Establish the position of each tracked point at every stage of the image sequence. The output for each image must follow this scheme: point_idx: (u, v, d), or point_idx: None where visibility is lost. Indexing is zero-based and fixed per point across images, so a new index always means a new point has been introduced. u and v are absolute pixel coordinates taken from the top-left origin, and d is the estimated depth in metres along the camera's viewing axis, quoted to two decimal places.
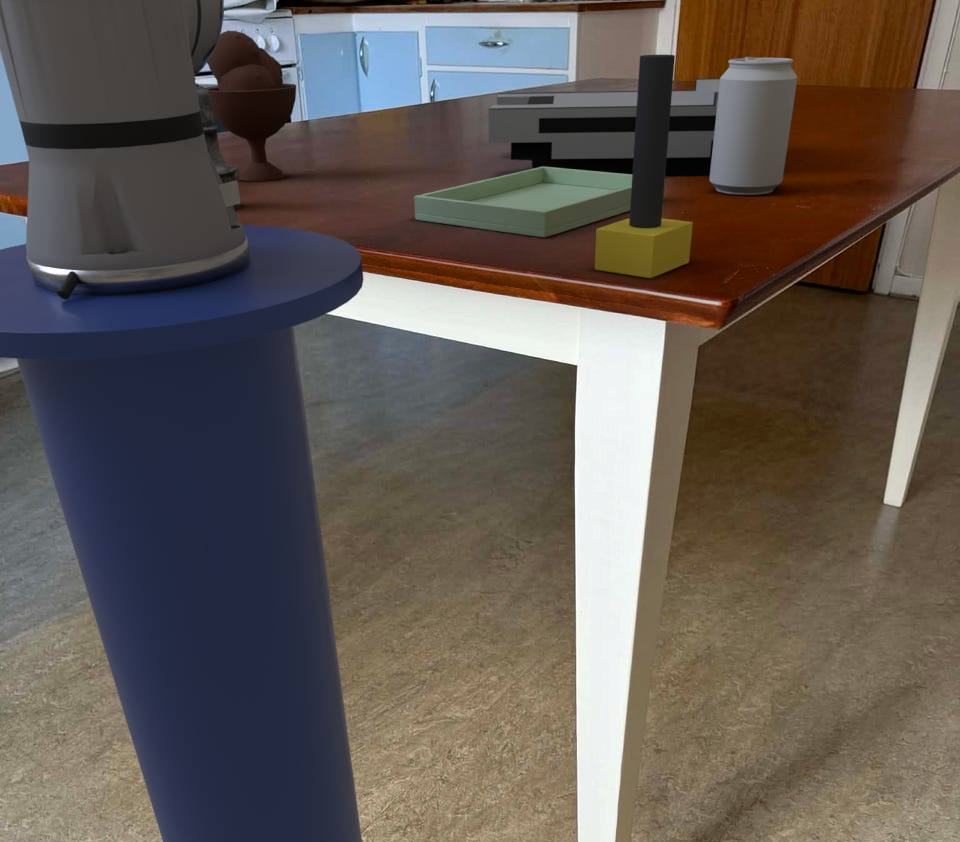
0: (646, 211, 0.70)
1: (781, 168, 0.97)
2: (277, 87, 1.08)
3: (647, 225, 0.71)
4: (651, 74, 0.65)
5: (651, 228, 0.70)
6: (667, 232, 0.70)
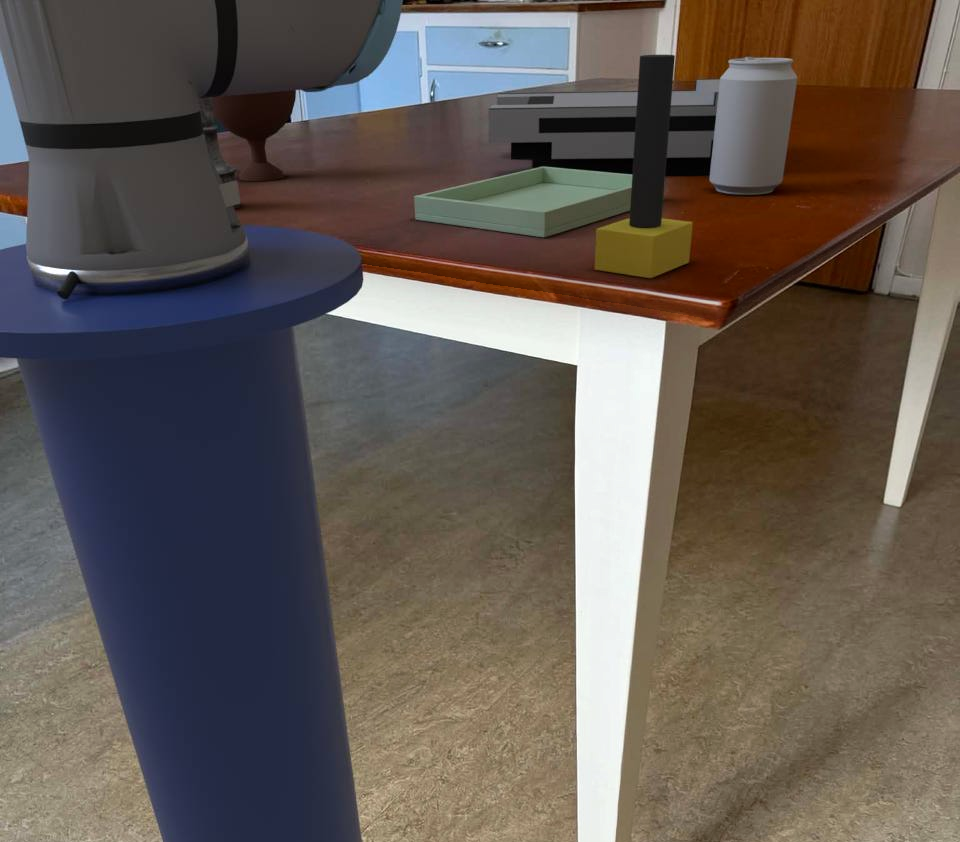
0: (646, 211, 0.70)
1: (781, 168, 0.97)
2: None
3: (647, 225, 0.71)
4: (651, 74, 0.65)
5: (651, 228, 0.70)
6: (667, 232, 0.70)
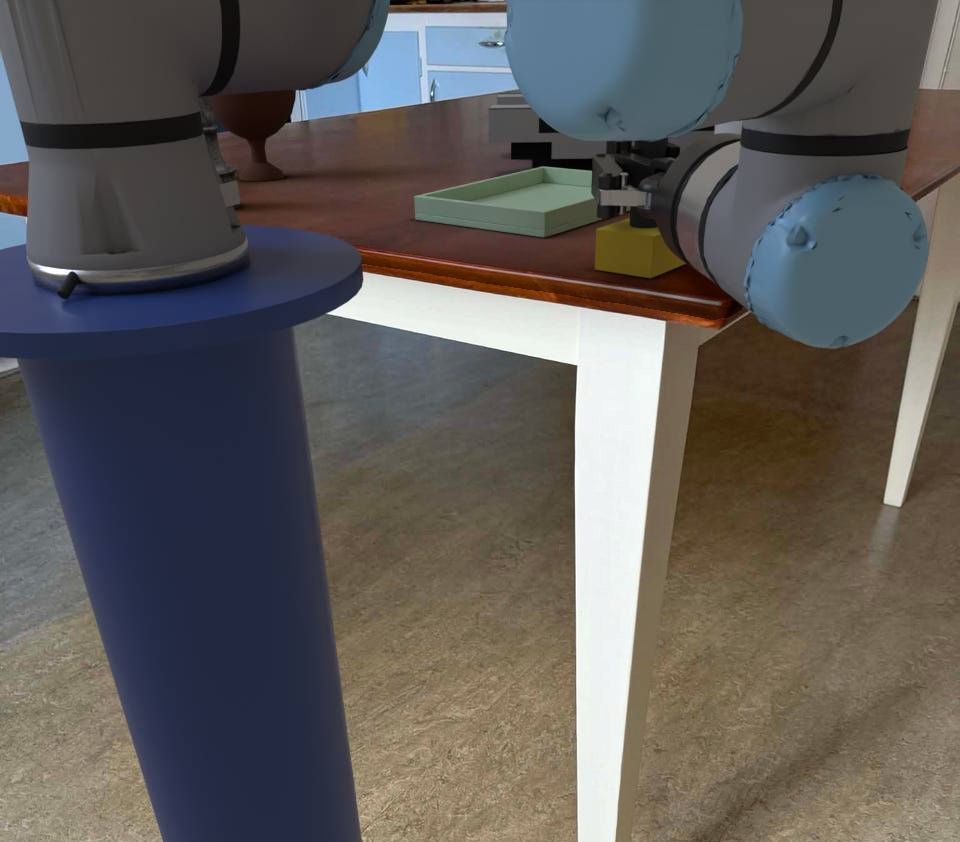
0: None
1: None
2: None
3: (647, 225, 0.71)
4: None
5: (651, 228, 0.70)
6: None
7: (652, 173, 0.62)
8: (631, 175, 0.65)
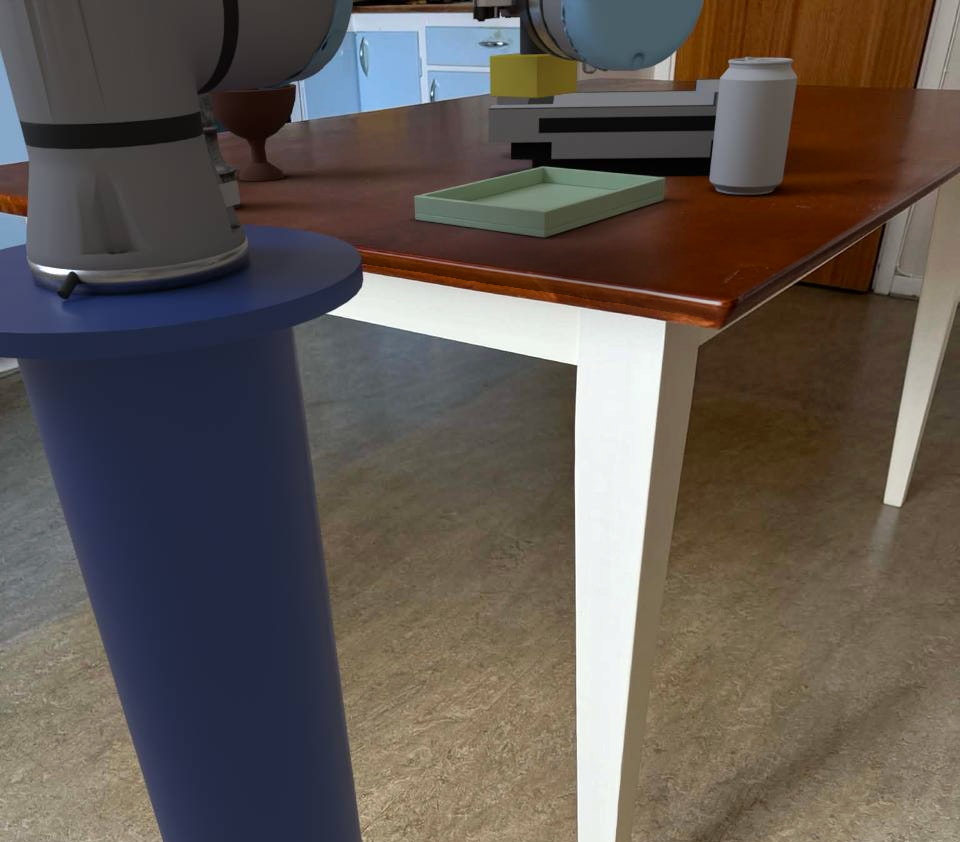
0: None
1: (781, 168, 0.97)
2: None
3: (534, 51, 0.79)
4: None
5: (538, 54, 0.79)
6: (551, 56, 0.78)
7: None
8: None
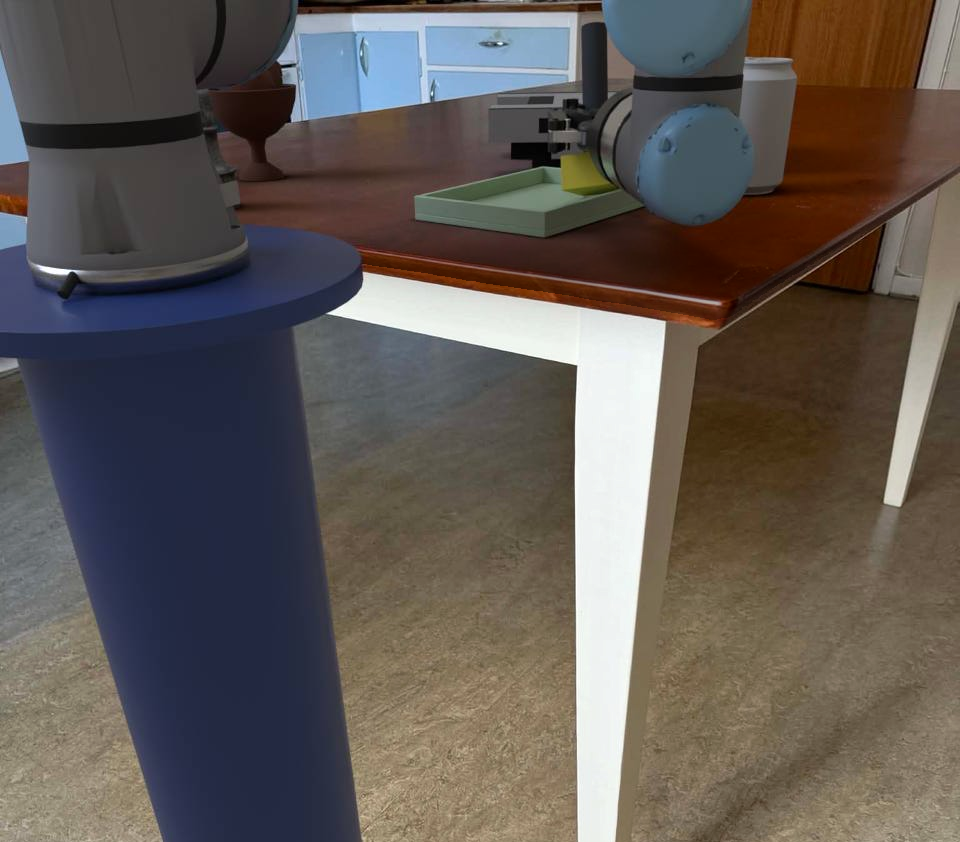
0: None
1: (781, 168, 0.97)
2: (277, 87, 1.08)
3: None
4: (593, 35, 0.87)
5: None
6: None
7: (590, 120, 0.83)
8: (577, 123, 0.86)
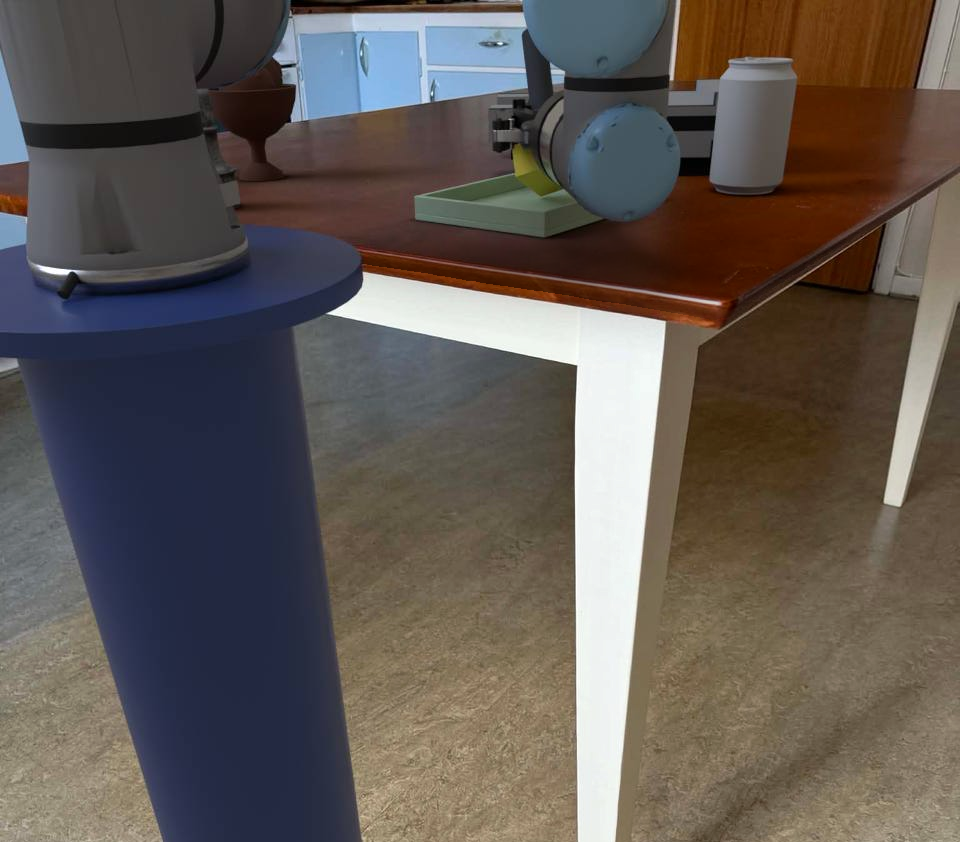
0: None
1: (781, 168, 0.97)
2: (277, 87, 1.08)
3: None
4: None
5: None
6: None
7: (534, 120, 0.85)
8: (523, 123, 0.88)
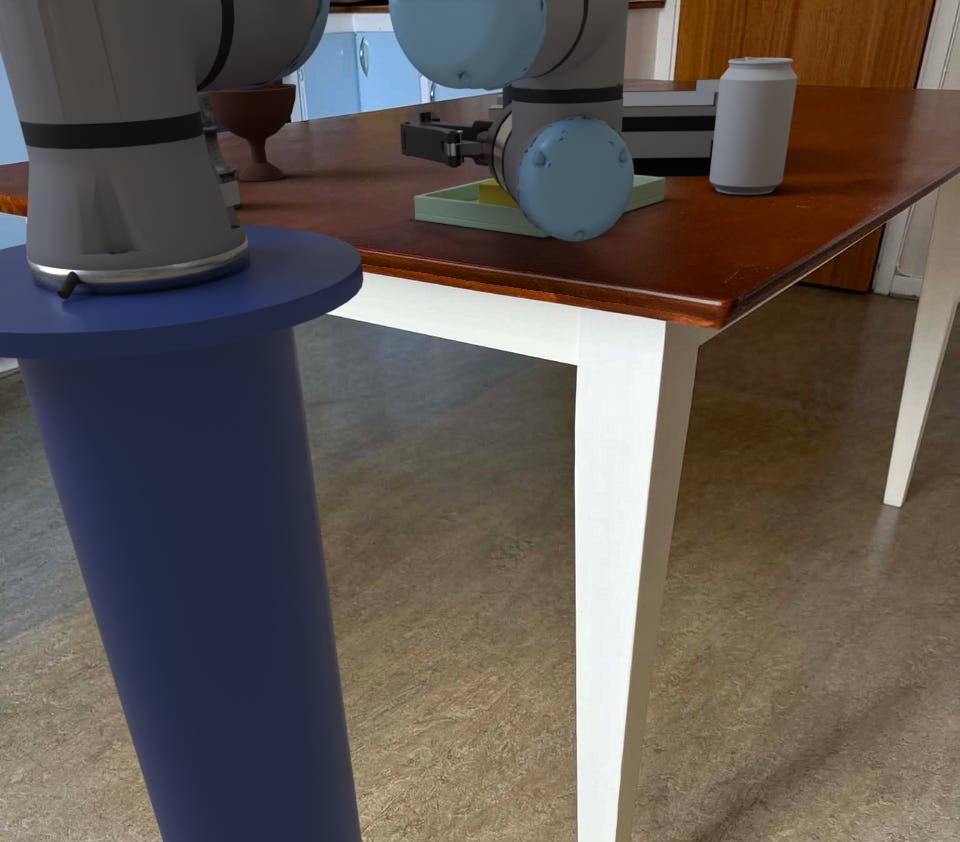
0: None
1: (781, 168, 0.97)
2: (277, 87, 1.08)
3: None
4: None
5: None
6: None
7: (476, 132, 0.80)
8: None
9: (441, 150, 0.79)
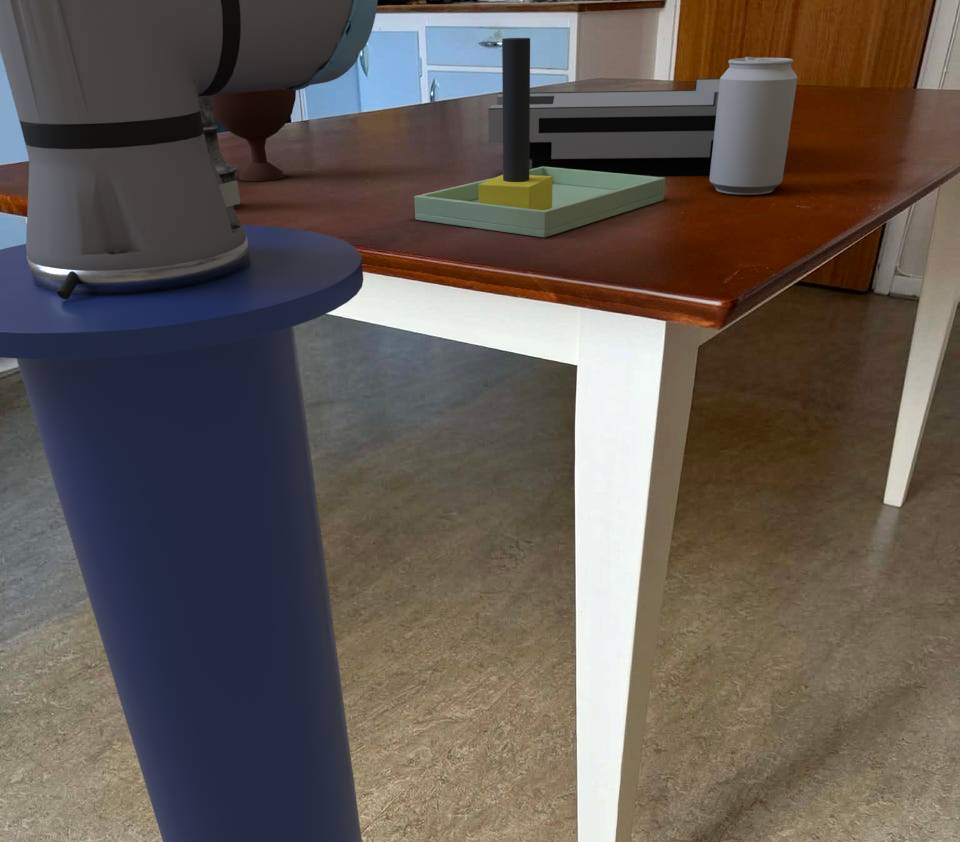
0: (518, 167, 0.85)
1: (781, 168, 0.97)
2: None
3: (519, 179, 0.86)
4: (514, 53, 0.80)
5: (523, 182, 0.86)
6: (537, 184, 0.85)
7: None
8: None
9: None
